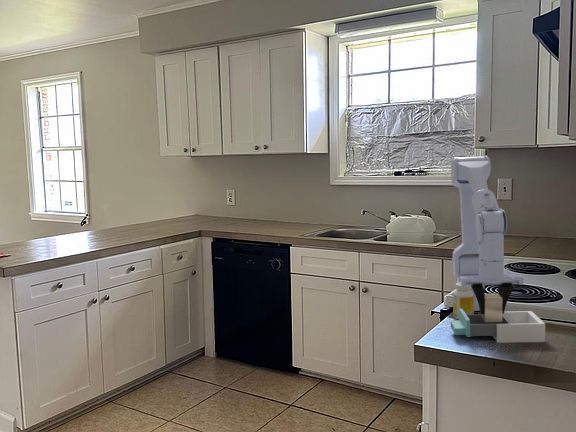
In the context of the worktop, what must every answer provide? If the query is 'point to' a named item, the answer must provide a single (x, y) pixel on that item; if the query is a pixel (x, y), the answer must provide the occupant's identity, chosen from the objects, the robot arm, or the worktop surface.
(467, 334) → the tray
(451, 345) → the worktop surface
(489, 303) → the birch block
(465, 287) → the supplement bottle
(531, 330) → the organiser box
